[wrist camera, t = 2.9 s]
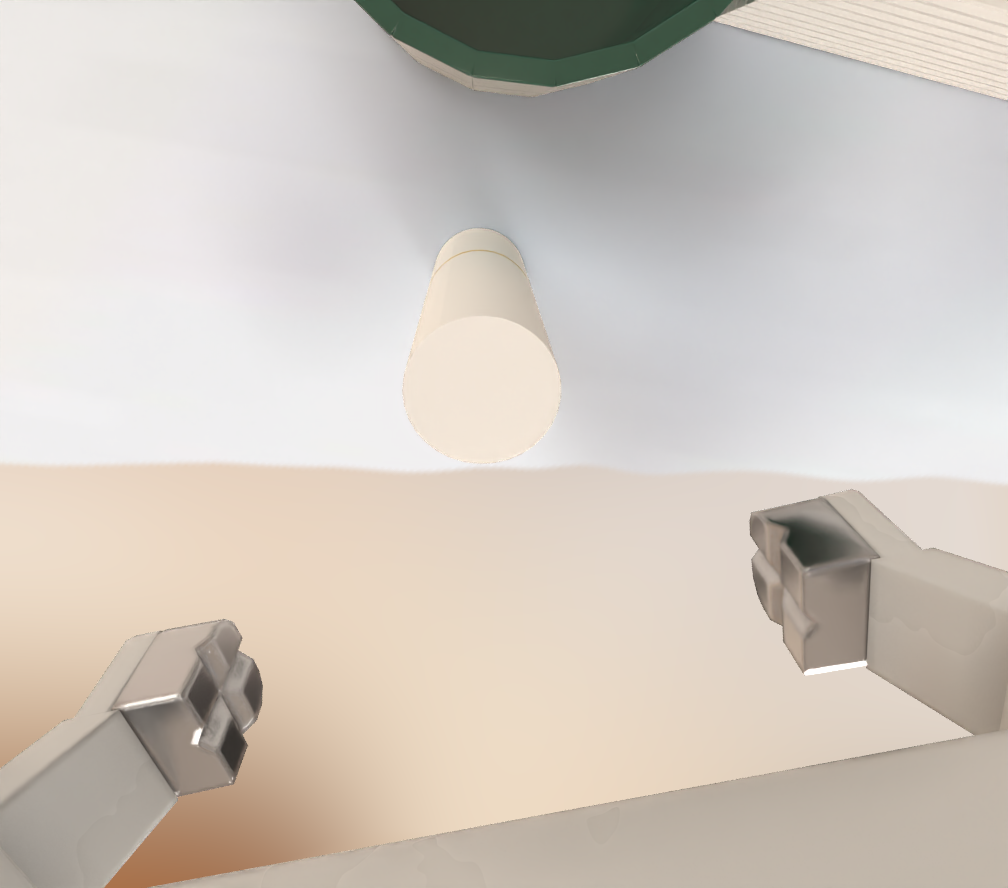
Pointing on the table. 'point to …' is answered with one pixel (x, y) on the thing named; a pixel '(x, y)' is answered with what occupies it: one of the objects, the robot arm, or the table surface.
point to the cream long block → (895, 35)
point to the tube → (481, 355)
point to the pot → (538, 38)
